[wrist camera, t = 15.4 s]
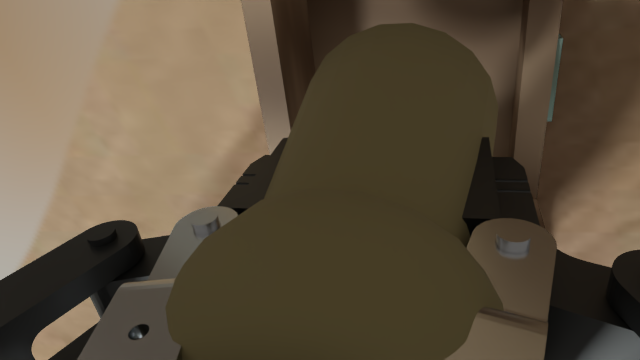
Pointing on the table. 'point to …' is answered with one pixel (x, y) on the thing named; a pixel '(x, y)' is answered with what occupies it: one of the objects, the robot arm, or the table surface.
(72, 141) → the table surface
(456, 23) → the slot rack
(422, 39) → the cork
